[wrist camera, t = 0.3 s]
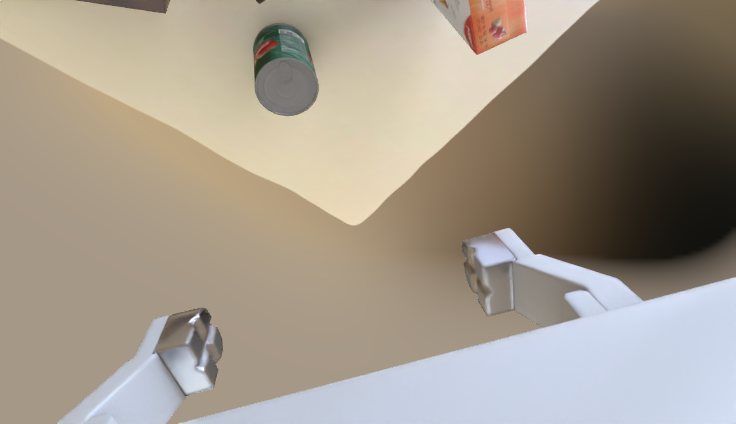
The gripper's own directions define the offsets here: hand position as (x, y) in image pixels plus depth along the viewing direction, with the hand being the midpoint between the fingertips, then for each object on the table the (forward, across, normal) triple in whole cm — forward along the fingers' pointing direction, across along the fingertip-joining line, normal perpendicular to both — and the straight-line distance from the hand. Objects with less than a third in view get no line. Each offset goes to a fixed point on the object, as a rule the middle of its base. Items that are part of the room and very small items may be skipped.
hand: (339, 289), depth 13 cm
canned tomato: (+53, +4, -2) cm, 54 cm away
